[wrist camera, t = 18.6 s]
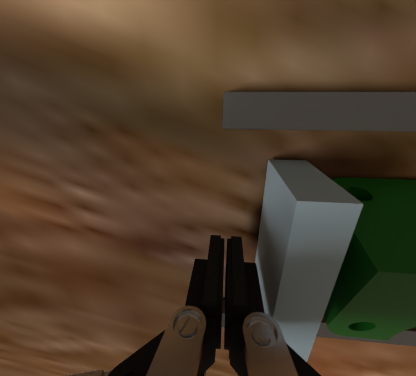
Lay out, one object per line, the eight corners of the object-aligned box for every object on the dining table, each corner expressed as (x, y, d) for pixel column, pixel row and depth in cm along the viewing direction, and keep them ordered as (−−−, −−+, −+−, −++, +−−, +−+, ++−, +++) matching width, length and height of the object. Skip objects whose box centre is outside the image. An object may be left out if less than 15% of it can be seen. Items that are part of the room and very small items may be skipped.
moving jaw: (279, 291, 15) (301, 376, 10) (251, 289, 15) (261, 372, 10) (306, 160, 11) (363, 204, 6) (268, 159, 11) (297, 201, 6)
